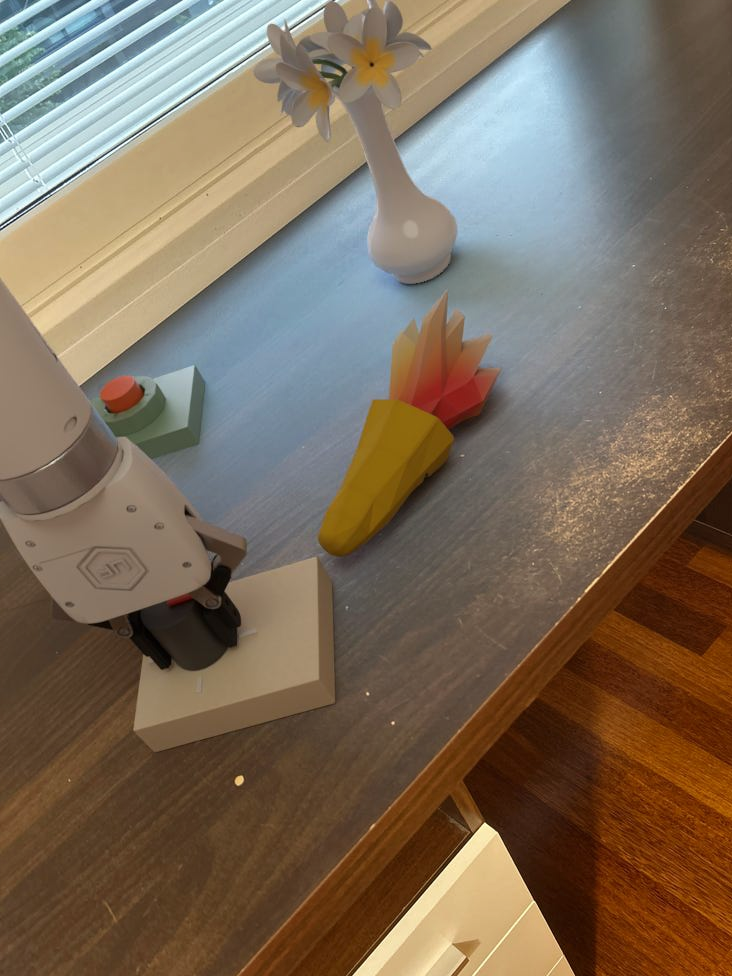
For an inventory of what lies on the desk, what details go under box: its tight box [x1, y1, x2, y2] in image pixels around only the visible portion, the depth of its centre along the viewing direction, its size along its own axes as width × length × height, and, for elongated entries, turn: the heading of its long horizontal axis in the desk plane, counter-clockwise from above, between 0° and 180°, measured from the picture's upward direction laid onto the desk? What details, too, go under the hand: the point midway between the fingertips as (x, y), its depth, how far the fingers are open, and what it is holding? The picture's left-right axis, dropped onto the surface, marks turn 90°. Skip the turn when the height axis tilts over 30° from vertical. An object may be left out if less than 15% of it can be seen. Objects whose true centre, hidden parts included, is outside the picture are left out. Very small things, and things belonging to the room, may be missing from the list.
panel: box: [132, 556, 336, 753], centre depth 75 cm, size 14×12×3 cm
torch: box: [317, 288, 503, 558], centre depth 82 cm, size 8×8×25 cm
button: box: [99, 374, 144, 414], centre depth 97 cm, size 4×4×2 cm
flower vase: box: [252, 0, 459, 285], centre depth 95 cm, size 13×18×25 cm
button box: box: [88, 364, 206, 460], centre depth 99 cm, size 12×10×4 cm
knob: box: [140, 593, 228, 671], centre depth 73 cm, size 4×4×5 cm
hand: (199, 641), depth 74 cm, fingers closed on knob, 4 cm apart
